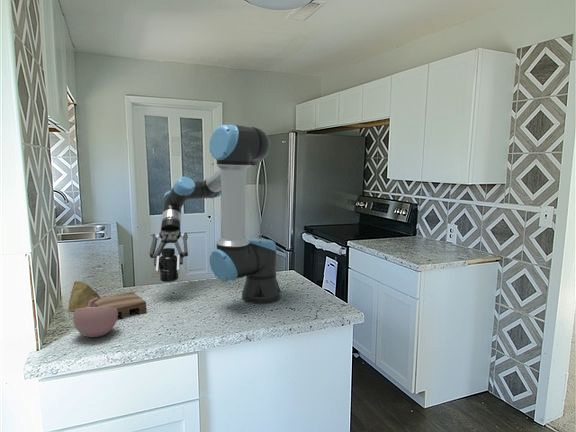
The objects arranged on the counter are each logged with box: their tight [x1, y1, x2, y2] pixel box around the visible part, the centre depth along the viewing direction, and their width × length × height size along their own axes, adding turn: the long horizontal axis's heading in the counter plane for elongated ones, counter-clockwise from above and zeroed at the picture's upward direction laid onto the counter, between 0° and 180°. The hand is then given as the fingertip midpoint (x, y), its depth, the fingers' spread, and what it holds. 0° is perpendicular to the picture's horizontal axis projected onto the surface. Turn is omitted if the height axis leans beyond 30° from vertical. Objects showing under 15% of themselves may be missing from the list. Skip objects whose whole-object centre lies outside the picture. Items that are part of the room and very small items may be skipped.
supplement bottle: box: [159, 247, 179, 283], centre depth 146 cm, size 7×7×12 cm
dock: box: [93, 291, 148, 319], centre depth 134 cm, size 14×14×4 cm
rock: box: [67, 280, 101, 313], centre depth 139 cm, size 11×9×10 cm
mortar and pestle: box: [72, 297, 119, 338], centre depth 115 cm, size 12×12×12 cm
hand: (167, 271), depth 142 cm, fingers closed on supplement bottle, 7 cm apart
